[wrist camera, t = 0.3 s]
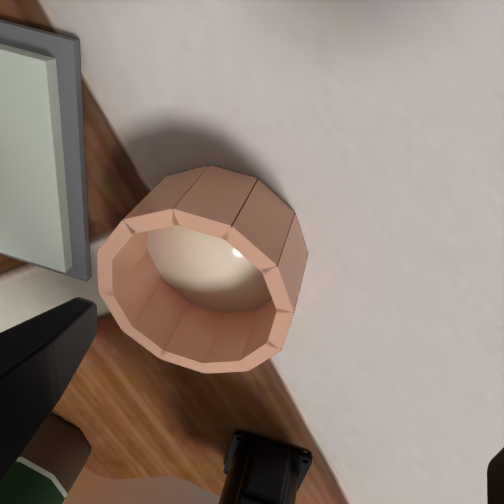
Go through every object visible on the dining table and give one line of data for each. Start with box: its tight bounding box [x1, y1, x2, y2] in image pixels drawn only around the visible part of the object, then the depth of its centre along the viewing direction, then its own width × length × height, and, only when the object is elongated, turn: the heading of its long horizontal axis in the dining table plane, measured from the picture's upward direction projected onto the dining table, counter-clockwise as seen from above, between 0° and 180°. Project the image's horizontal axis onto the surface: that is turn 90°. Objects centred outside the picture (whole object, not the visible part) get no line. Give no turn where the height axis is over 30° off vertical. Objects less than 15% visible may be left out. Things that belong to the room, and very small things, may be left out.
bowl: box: [97, 165, 308, 374], centre depth 23 cm, size 10×10×5 cm
